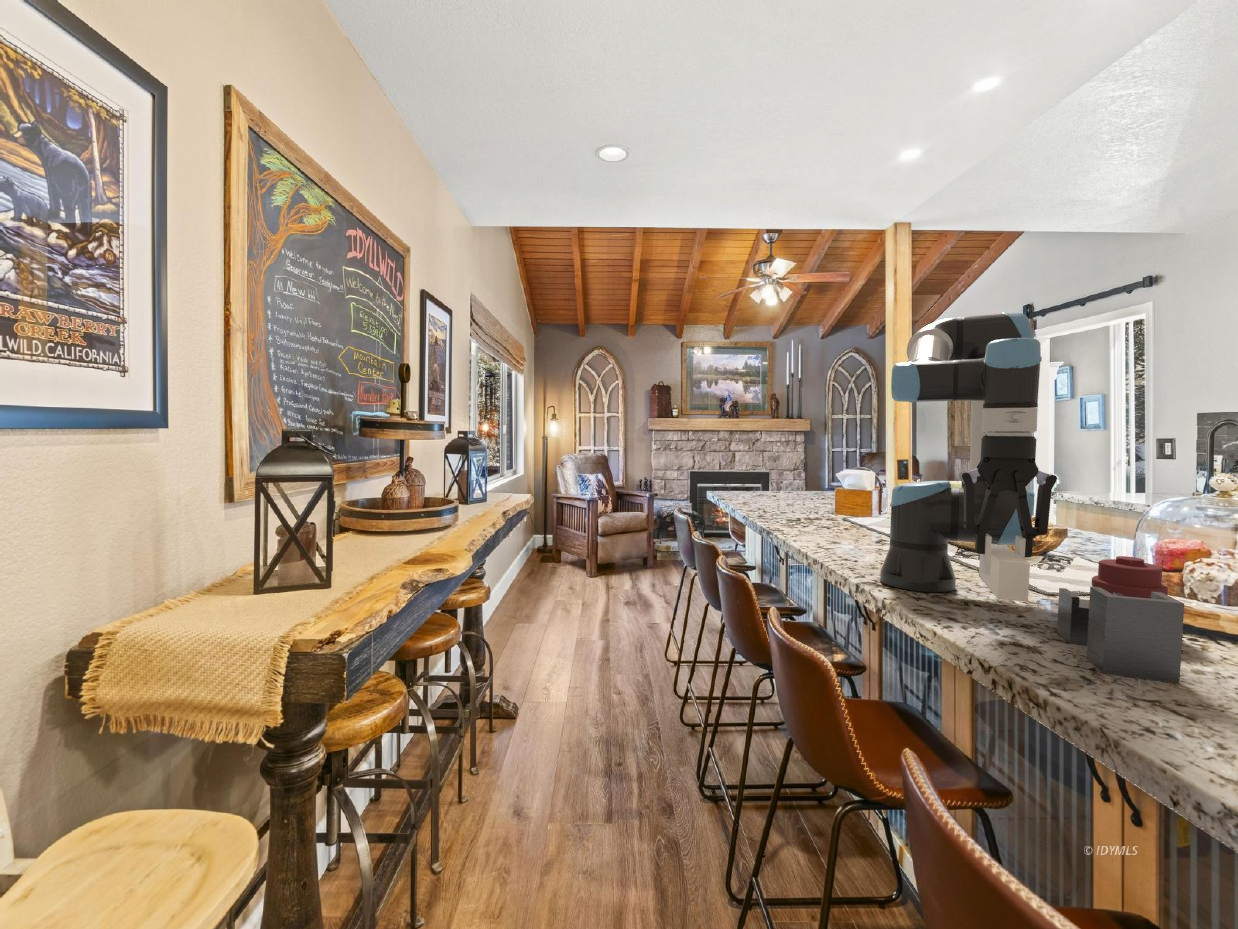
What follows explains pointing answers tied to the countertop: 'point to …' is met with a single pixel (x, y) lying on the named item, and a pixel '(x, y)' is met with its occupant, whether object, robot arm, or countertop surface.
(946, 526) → the robot arm
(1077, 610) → the grey channel block
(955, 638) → the countertop surface
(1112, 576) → the mechanical component
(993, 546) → the cream rectangular block
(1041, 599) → the countertop surface
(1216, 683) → the countertop surface
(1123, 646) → the cup bracket
